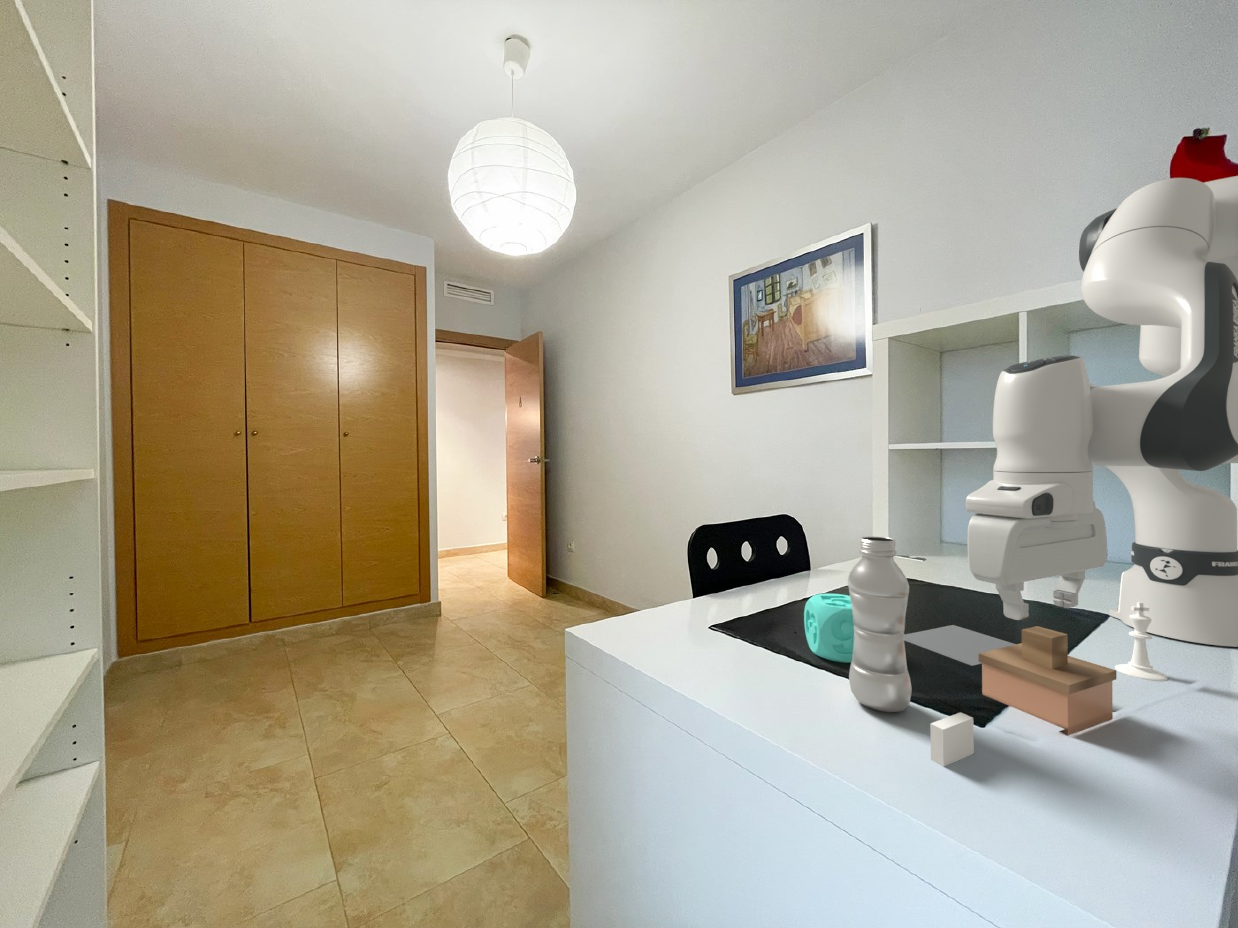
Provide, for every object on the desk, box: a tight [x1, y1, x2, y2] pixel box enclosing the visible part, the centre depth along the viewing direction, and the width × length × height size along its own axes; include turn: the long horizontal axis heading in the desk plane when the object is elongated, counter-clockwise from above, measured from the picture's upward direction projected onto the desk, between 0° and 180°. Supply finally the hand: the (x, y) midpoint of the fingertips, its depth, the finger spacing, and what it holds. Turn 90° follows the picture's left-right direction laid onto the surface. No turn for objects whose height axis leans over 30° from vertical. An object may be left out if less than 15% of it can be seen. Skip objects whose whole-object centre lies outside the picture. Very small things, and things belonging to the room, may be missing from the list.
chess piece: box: [1114, 602, 1169, 682], centre depth 64 cm, size 5×5×10 cm
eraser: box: [930, 711, 975, 767], centre depth 48 cm, size 1×5×4 cm, turn 115°
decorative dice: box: [803, 593, 854, 664], centre depth 74 cm, size 8×8×8 cm
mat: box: [904, 624, 1016, 667], centre depth 75 cm, size 14×12×1 cm
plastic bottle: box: [847, 536, 913, 713], centre depth 58 cm, size 6×7×20 cm
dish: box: [981, 663, 1114, 736], centre depth 56 cm, size 8×8×4 cm
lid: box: [979, 625, 1117, 694], centre depth 56 cm, size 9×9×4 cm
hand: (1041, 611), depth 57 cm, fingers open, 8 cm apart
